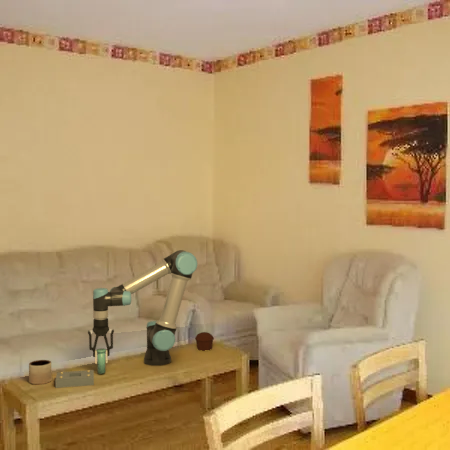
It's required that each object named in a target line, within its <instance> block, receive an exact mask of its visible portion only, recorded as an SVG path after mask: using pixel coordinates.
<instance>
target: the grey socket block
mask: <svg viewBox="0 0 450 450" xmlns="http://www.w3.org/2000/svg"><path fill="white" fill-rule="evenodd" d="M94 372H95V371H94V369H89V370H88V369H87V370H86V369H85V370H74V371H61V372H60V371H59V372H56V376H55V388H56V389H57V388H58V389H60V388H71V387H72V388H73V387H85V386H94V385H95V382H94V381H95V378H94V375H95V373H94Z"/></svg>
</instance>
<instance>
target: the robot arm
mask: <svg viewBox="0 0 450 450" xmlns="http://www.w3.org/2000/svg"><path fill="white" fill-rule="evenodd" d="M197 268H198V259H197V257H196V256H195V255H194V254H193V253H192V252H189V251H186V250H183V249H182V250H176V251H174V252H173V253H171V254H169V255H168V256H166V257H164V258H162V261H160V262H159V263H157V264H155V265H154V266H152V267H150V268H148V269H146V270H145V271H143V272H141V273H140V274H137V275H136V276H134V277H132V278H131V279H128V280H127V281H125V282H124V283H121V284H119V285H118V286H114V287H112V288H110V290H108V288H105V287H97V288H94V289H93V292H92V293H93V294H92V303H93V304H92V307H93V311H92V312H93V313H92V314H93V315H92V316H93V318H94V319H92V320H93V327H92V329H91V330H90V329H89V330H87V335H88V342H89V343H88V348H89V351H92V358H94V359H95V361H94V362H95V363H94V364H96V365H97V344H98V340H99V337H103V339H104V342H105V346H106V348H105V349H106V352H105V364H108V357H110V356H111V355H110V352H111V350H112V349H113V348H114V332H115V329H114V328H110V326H109V307H125V306H131V304H132V295H133V294H134V293H137V292H138V291H140V290H142V289H144V288H145V287H147V286H149V285H150V284H152V283H154V282H156V281H157V280H160V279H161V278H163V277H165V276H167V275H168V274H169V275H171V279H170V283H169V287H168V290H167V293H166V297H165V301H164V304H163V307H162V310H161V314H160V316H159V317H160V318H159V319H158V320H152V321H148V322H147V323H146V351H145V352H144V357H143V363H144V365H145V364H146V365H147V366H148V365H149V366H163V365H168V364H170V363H171V362H172V356H171V354H170V350H171V349H172V348H173V346H174V345H175V343H176V337H175V334H176V332H177V326H176V321H177V318H178V315H179V312H180V308H181V305H182V301H183V297H184V294H185V291H186V288H187V284H188V281H191V279H192V277H193V274H194V273H195V271H197ZM93 333H94V334H95V338H94V343H93V345H92V341H93V340H92V335H93ZM108 333H109V334H110V341H109V340H108V337H107V334H108ZM109 342H110V344H109ZM92 346H93V347H92Z"/></svg>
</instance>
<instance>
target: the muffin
mask: <svg viewBox="0 0 450 450" xmlns="http://www.w3.org/2000/svg"><path fill="white" fill-rule="evenodd" d="M194 339H195V342H196V349H198V350H197V351H200V350H202V351H201V352H206V351H205V350H209V351H211V350H210V349H212V348H213V342H214V340H215V338H214V336H213V334H211V332H208V331H202V332H199V333H198V334H196V336H195V338H194Z"/></svg>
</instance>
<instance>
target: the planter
mask: <svg viewBox="0 0 450 450" xmlns="http://www.w3.org/2000/svg"><path fill="white" fill-rule="evenodd" d="M52 373H53V372H52V360H50V359H49V360H48V359H37V360H32V361H30V362H29V363H28V382H29V383H30V384H31V385H46V384H48V383H50V382H51V381H52V380H53V379H52V378H53V377H52V376H53V375H52Z"/></svg>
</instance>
